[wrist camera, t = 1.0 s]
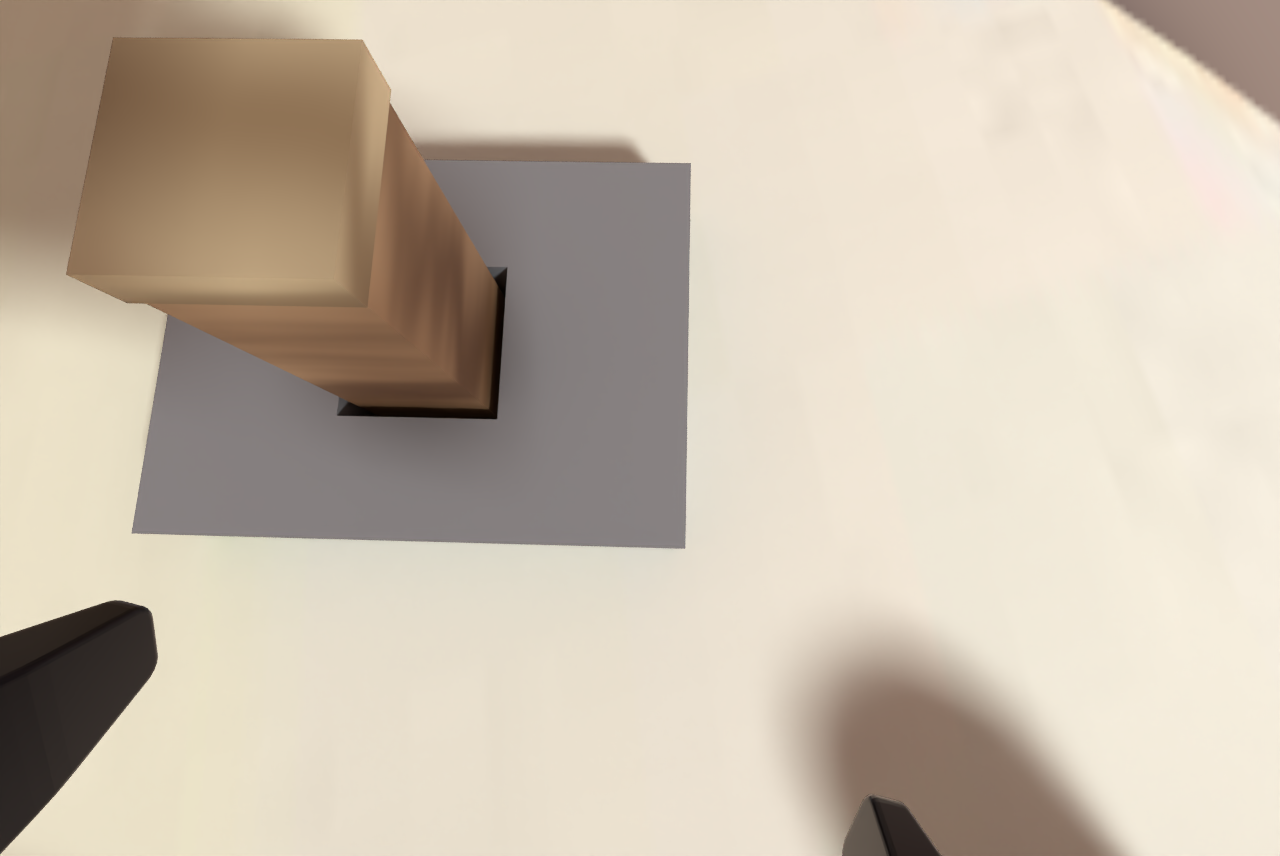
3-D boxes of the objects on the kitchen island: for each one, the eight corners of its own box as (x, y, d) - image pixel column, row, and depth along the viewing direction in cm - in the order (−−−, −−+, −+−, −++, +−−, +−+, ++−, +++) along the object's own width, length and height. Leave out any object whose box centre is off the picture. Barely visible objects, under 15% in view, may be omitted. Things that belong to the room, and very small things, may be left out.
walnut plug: (509, 427, 22) (333, 278, 10) (388, 424, 22) (65, 274, 10) (517, 311, 23) (362, 39, 11) (399, 308, 23) (113, 37, 11)
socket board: (680, 548, 21) (685, 548, 18) (202, 535, 22) (131, 533, 19) (686, 211, 24) (690, 163, 21) (250, 204, 24) (194, 156, 21)
